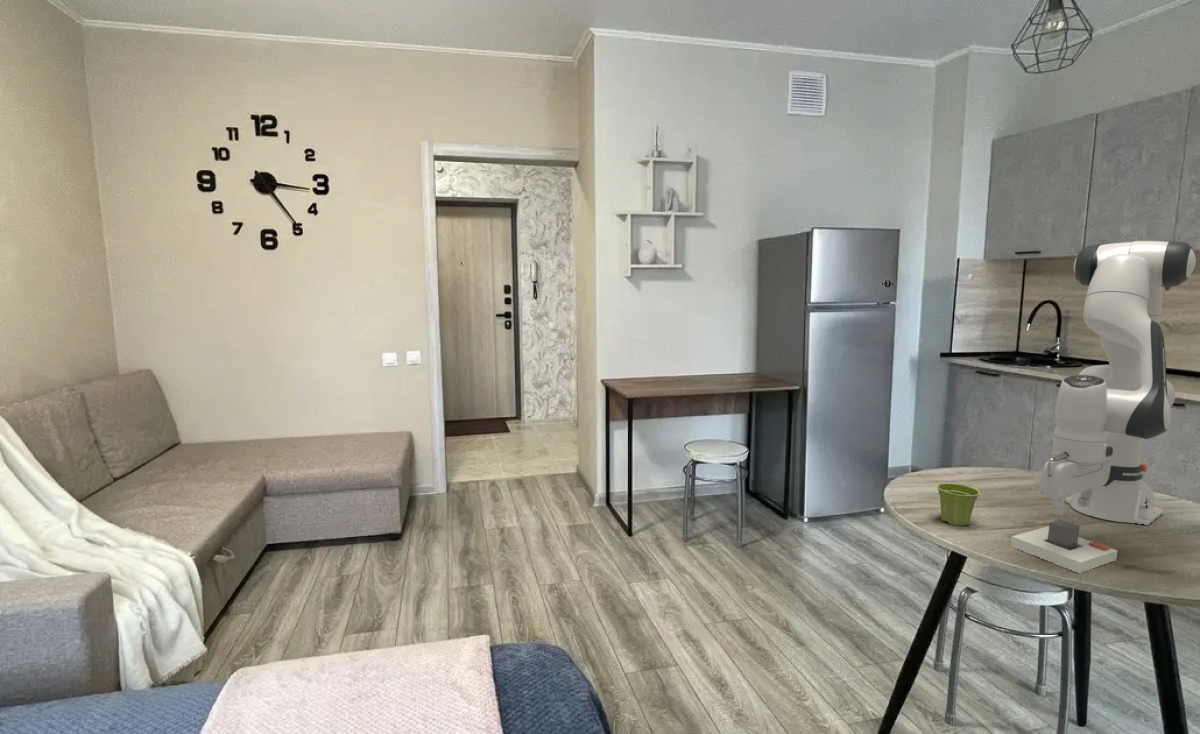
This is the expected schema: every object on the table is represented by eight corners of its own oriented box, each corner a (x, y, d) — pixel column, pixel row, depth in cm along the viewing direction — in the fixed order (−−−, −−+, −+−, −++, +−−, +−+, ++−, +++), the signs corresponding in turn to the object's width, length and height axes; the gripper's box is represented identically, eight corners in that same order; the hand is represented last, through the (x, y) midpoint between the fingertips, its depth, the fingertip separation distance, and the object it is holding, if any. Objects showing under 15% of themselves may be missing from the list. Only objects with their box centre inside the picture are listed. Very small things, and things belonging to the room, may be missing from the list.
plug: (1055, 548, 138) (1059, 519, 137) (1075, 555, 134) (1079, 525, 133) (1046, 551, 136) (1049, 522, 135) (1065, 558, 133) (1069, 528, 132)
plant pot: (931, 512, 159) (934, 480, 158) (972, 517, 155) (975, 485, 154) (936, 525, 150) (940, 492, 149) (980, 531, 147) (984, 497, 146)
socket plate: (1046, 536, 144) (1048, 523, 144) (1116, 561, 132) (1117, 547, 131) (1010, 546, 139) (1012, 533, 138) (1079, 573, 126) (1081, 559, 125)
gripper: (1066, 460, 124) (1060, 523, 126) (1119, 446, 133) (1113, 506, 135) (1033, 453, 130) (1028, 513, 132) (1086, 440, 138) (1081, 497, 140)
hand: (1071, 509), depth 133 cm, fingers open, 8 cm apart
